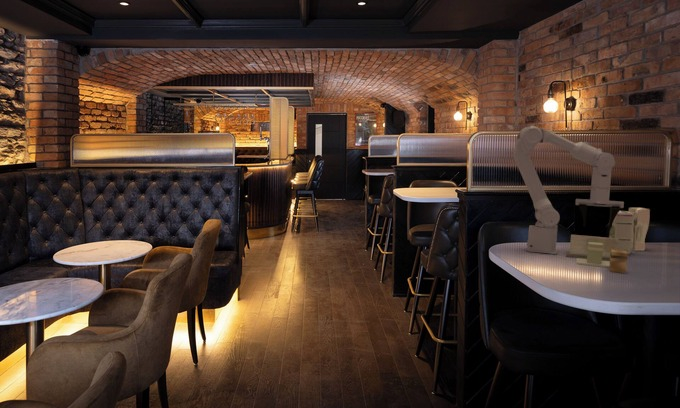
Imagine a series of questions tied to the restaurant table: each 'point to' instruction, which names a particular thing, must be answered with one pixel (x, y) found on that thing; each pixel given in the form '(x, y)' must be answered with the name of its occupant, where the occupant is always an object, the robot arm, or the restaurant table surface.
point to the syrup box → (623, 230)
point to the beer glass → (639, 227)
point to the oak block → (618, 261)
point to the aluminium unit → (581, 246)
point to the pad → (584, 262)
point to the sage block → (594, 252)
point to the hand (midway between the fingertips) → (597, 227)
